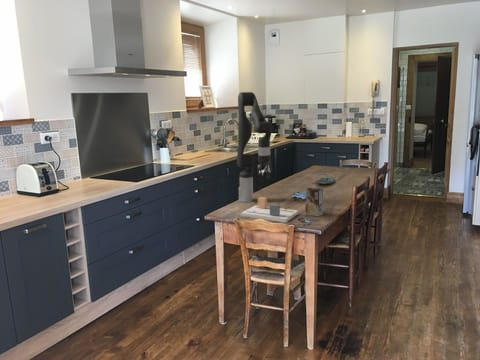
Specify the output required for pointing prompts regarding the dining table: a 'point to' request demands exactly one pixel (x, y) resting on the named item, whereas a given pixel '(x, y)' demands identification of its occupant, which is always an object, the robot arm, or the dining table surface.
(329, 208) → the dining table surface
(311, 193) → the coffee box
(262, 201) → the block
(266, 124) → the robot arm
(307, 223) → the dining table surface
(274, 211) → the slate fader
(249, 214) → the console
